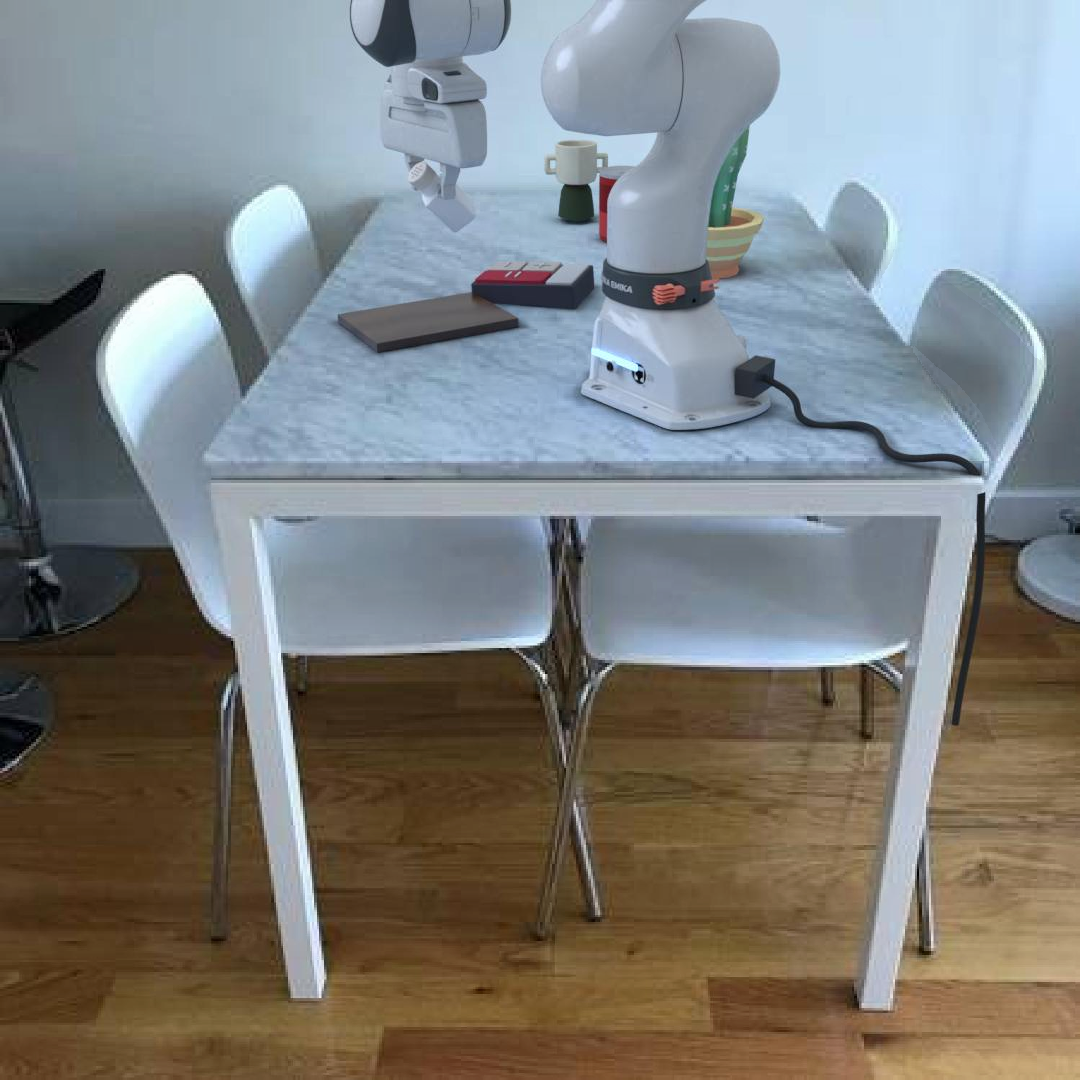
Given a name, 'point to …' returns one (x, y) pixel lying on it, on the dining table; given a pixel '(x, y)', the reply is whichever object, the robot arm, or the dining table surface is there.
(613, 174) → the canned food
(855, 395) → the dining table surface
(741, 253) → the potted cactus
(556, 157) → the trophy
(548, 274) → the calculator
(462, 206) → the pepper shaker
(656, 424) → the robot arm
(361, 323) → the board
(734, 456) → the dining table surface
